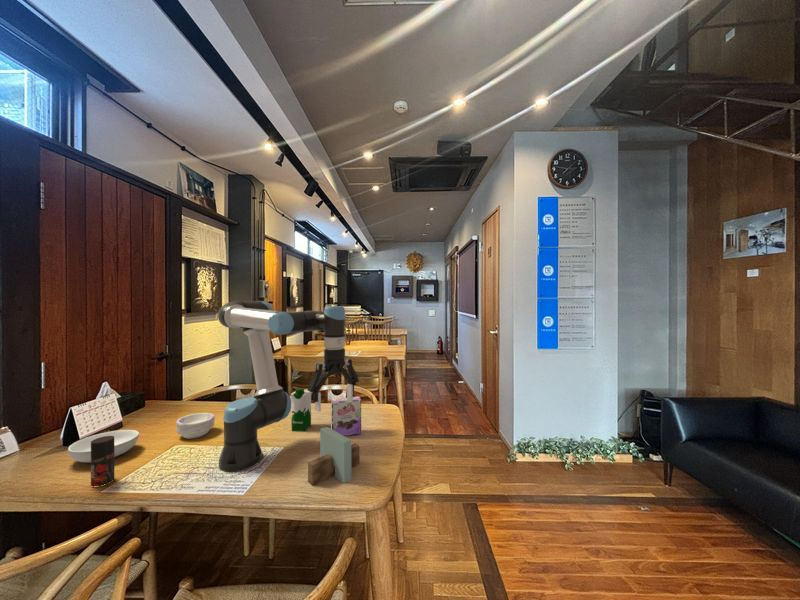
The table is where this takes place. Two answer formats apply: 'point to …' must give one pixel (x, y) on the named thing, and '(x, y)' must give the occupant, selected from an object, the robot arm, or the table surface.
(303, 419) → the milk carton
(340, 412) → the candy box
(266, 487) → the table surface
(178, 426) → the paper bowls
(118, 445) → the serving bowl
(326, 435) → the pale green slab
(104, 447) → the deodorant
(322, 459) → the walnut board
